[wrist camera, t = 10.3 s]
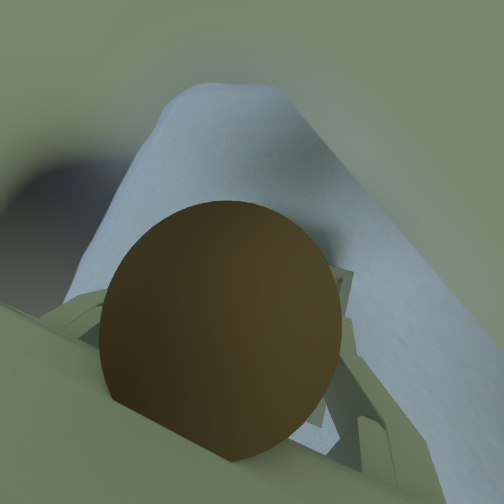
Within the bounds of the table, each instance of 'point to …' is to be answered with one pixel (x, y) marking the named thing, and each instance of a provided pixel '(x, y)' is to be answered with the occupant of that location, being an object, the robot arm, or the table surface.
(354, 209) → the table surface
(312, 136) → the table surface
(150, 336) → the peg
